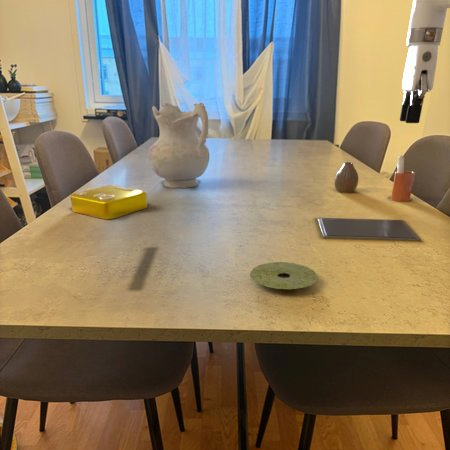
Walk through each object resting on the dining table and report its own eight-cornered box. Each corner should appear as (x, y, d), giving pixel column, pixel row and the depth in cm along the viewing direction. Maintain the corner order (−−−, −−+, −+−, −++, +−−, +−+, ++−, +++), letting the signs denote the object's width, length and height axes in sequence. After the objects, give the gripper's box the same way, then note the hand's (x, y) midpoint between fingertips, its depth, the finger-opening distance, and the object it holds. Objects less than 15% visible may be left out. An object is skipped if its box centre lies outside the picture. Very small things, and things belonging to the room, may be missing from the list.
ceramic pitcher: (225, 185, 145) (227, 104, 135) (198, 193, 129) (198, 102, 119) (170, 180, 153) (168, 103, 143) (137, 187, 137) (133, 101, 127)
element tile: (150, 207, 117) (149, 189, 115) (108, 220, 106) (106, 201, 104) (112, 199, 125) (110, 182, 122) (69, 211, 114) (66, 193, 111)
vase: (357, 195, 128) (362, 165, 124) (334, 194, 129) (337, 164, 125) (355, 190, 134) (359, 161, 130) (332, 189, 135) (335, 160, 131)
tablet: (401, 224, 103) (402, 219, 103) (419, 244, 91) (420, 239, 90) (317, 221, 105) (317, 217, 105) (323, 240, 93) (323, 236, 92)
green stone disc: (246, 297, 69) (246, 286, 68) (253, 269, 79) (253, 259, 78) (317, 302, 67) (318, 290, 67) (315, 273, 77) (316, 263, 76)
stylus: (402, 198, 123) (403, 154, 117) (403, 199, 121) (404, 155, 116) (396, 198, 123) (397, 155, 118) (397, 200, 121) (398, 156, 116)
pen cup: (406, 199, 124) (411, 170, 121) (411, 203, 120) (417, 174, 116) (388, 198, 125) (393, 170, 121) (392, 203, 120) (398, 174, 117)
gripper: (454, 35, 94) (435, 125, 102) (428, 41, 109) (414, 119, 117) (418, 35, 94) (403, 125, 103) (397, 41, 109) (385, 119, 118)
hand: (409, 121), depth 110 cm, fingers open, 4 cm apart
